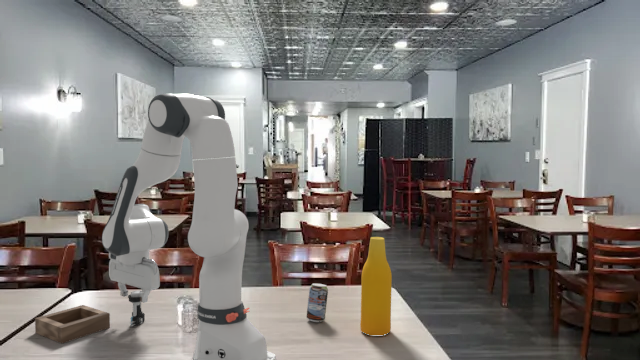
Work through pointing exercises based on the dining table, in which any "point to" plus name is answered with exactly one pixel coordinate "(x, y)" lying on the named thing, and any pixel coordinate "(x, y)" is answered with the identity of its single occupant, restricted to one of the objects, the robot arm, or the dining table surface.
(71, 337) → the wooden tray
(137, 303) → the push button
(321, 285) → the beverage can
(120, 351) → the dining table surface
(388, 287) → the beer bottle
